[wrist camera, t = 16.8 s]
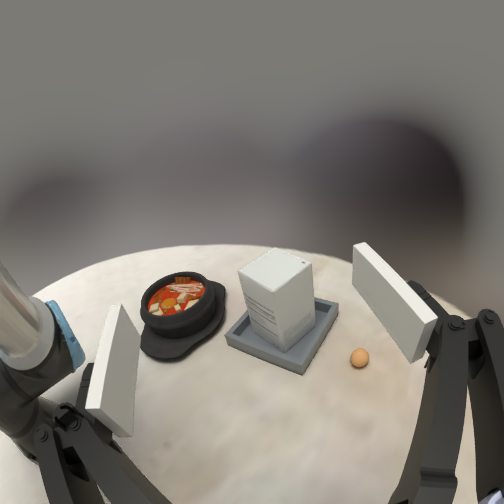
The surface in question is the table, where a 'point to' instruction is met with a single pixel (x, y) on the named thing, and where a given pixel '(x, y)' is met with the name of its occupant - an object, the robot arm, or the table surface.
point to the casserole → (179, 313)
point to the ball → (359, 357)
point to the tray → (299, 352)
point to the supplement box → (279, 297)
